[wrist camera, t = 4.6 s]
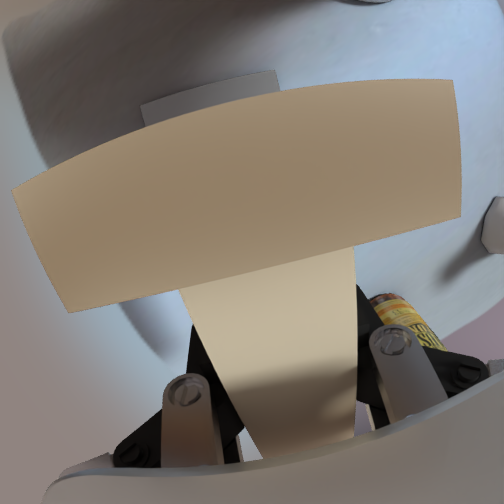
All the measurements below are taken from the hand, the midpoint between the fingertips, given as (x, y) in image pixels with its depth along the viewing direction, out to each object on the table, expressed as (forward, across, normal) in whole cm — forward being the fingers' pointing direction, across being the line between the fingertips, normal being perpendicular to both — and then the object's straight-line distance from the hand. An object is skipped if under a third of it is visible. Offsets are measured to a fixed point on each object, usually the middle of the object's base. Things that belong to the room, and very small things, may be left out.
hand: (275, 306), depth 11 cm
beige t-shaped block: (+1, 0, 0) cm, 1 cm away
